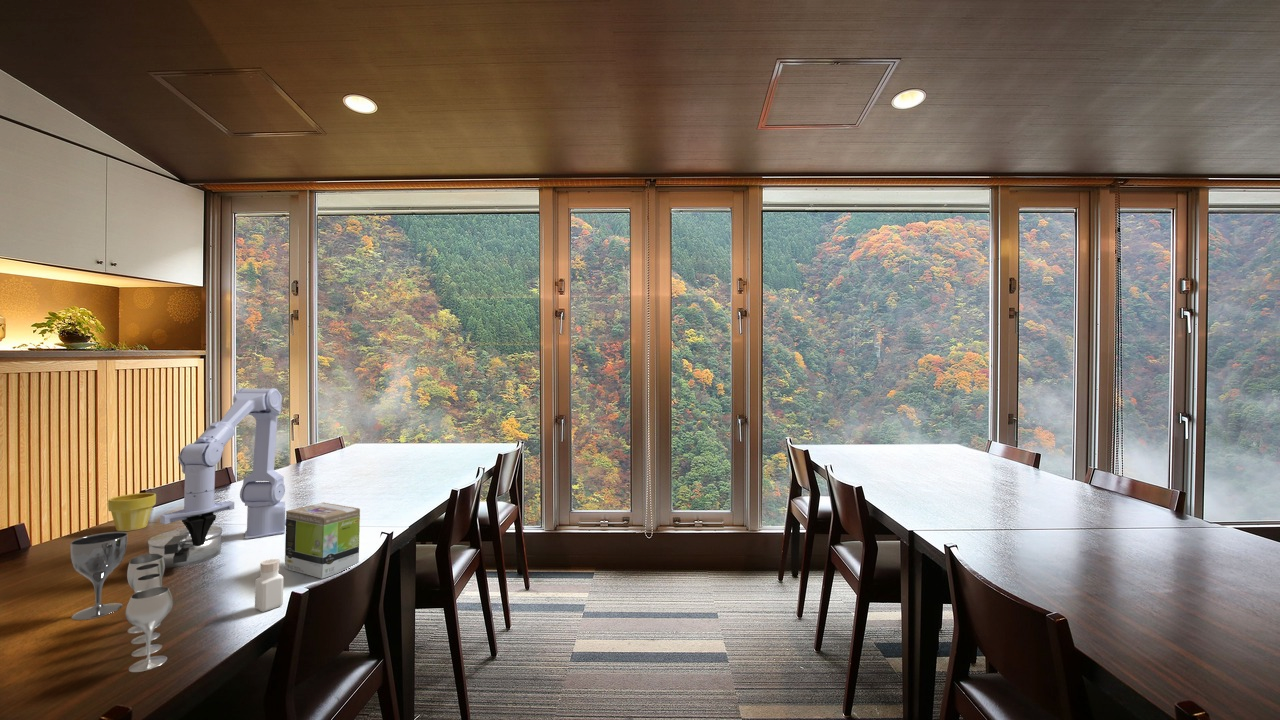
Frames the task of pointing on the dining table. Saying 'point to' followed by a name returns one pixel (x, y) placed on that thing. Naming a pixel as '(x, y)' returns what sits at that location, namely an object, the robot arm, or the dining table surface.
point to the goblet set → (147, 607)
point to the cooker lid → (179, 539)
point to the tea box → (322, 539)
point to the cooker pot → (190, 553)
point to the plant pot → (131, 510)
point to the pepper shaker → (269, 586)
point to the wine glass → (98, 566)
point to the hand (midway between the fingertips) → (198, 544)
